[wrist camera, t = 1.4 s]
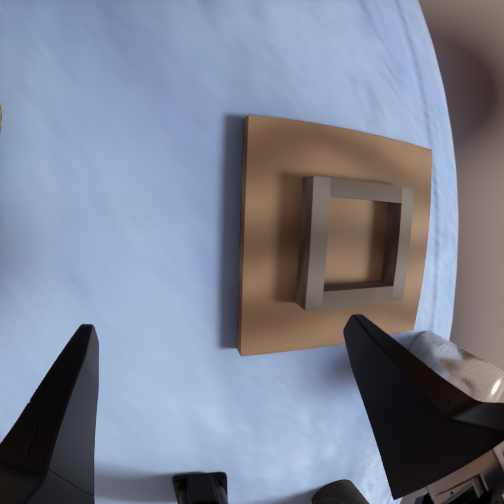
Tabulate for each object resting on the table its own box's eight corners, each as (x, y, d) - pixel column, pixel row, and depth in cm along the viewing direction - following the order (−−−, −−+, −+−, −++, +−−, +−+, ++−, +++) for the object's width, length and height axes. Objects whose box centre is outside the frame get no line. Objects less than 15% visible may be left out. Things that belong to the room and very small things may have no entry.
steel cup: (429, 364, 36) (495, 407, 24) (401, 373, 35) (470, 425, 22) (439, 327, 35) (512, 366, 23) (410, 334, 34) (489, 381, 21)
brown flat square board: (405, 325, 33) (424, 336, 30) (237, 348, 28) (246, 367, 24) (422, 150, 29) (444, 148, 26) (244, 119, 24) (255, 108, 21)
